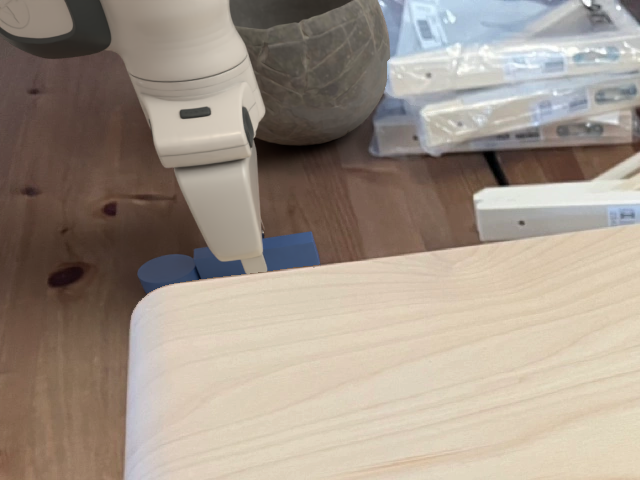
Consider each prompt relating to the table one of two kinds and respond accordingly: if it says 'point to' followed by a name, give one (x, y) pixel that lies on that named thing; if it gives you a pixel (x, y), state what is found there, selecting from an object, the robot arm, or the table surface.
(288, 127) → the bowl
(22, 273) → the table surface
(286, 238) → the blue block
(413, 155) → the table surface
